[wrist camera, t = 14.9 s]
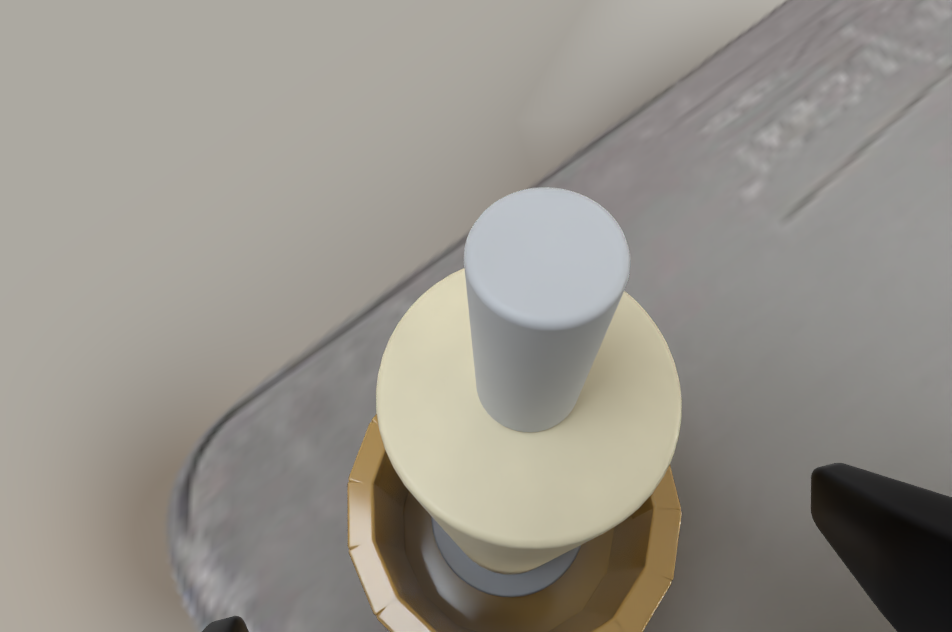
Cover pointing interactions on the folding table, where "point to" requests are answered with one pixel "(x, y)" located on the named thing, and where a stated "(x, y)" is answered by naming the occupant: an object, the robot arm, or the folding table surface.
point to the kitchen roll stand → (529, 393)
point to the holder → (488, 616)
